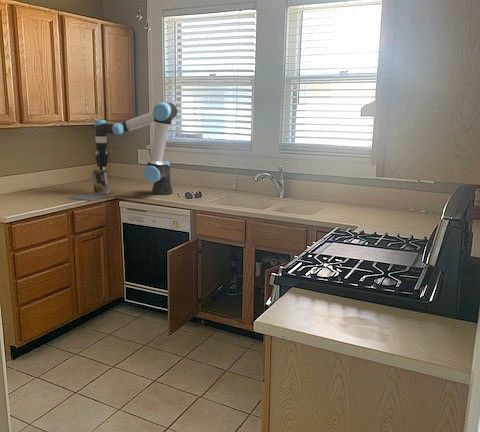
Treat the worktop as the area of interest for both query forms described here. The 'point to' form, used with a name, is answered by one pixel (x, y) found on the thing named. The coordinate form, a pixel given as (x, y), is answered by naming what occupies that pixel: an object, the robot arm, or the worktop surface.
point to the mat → (88, 197)
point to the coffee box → (100, 182)
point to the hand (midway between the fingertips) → (102, 175)
